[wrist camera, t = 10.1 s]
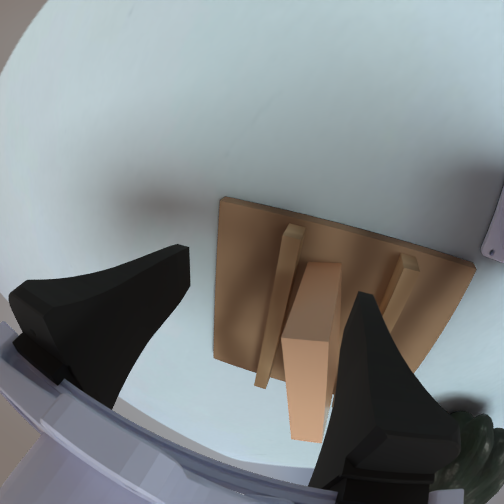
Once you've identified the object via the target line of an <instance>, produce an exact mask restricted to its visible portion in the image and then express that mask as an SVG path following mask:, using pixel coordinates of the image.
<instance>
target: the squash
mask: <svg viewBox="0 0 504 504" xmlns="http://www.w3.org/2000/svg"><path fill="white" fill-rule="evenodd" d="M450 416H452V417H453V418H454V419H455V420H456V421H457V422H458V423H459V428H460V438H461V452H460V453H459V455H458V456H457V457H456V458H455V459H454V460H453V461H452V462H451V463H449V464H448V465H446V466H445V467H443V468H442V469H440V470H439V471H437V472H435V481H434V483H433V484H430V487H429V492H432V491H436V490H451V489H463V490H464V502H463V504H485V503H487V502H488V501H489V500H490V499H491V498H492V497H493V496H494V495H495V494H496V493H497V492H498V491H499V490H500V488H501V487H502V486H503V484H504V429H503V428H494V429H493V422H492V419H491V418H490V417H489V416H488V415H486V414H482V415H479V416H477V417H475V418H474V417H473V416H472V415H471V414H470V413H468V412H465V411H458V412H454V413H452V414H450Z"/></svg>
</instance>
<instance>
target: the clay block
mask: <svg viewBox="0 0 504 504" xmlns="http://www.w3.org/2000/svg"><path fill="white" fill-rule="evenodd" d="M341 282H342V263H326V262H308V263H307V266H306V269H305V272H304V275H303V278H302V281H301V284H300V286H299V289H298V292H297V295H296V298H295V301H294V304H293V306H292V309H291V312H290V315H289V317H288V320H287V323H286V326H285V328H284V331H283V334H282V336H281V342H282V351H283V360H284V370H285V379H286V389H287V399H288V409H289V420H290V430H291V439H294V440H301V441H308V442H316V443H322V439H323V435H324V431H325V427H326V422H327V418H328V413H329V408H330V404H331V399H332V394H333V389H334V383H335V378H336V372H337V361H338V348H339V332H340V313H341Z"/></svg>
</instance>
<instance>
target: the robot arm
mask: <svg viewBox="0 0 504 504" xmlns="http://www.w3.org/2000/svg"><path fill="white" fill-rule="evenodd" d="M492 249H493V252H492V253H490V251H491V250H492ZM481 253H482V254H483V255H484V256H485V257H488V258H491V259H494V260H496V261H499V262H502V263H504V186H503V190H502V193H501V196H500V199H499V202H498V205H497V208H496V211H495V214H494V216H493V219H492V222H491V224H490V227H489V229H488V232H487V235H486V237H485V239H484V242H483V244H482V247H481ZM189 287H190V257H189V247H187V246H183V245H179V244H175V245H172V246H169V247H166V248H164V249H161V250H158V251H156V252H153V253H151V254H148V255H146V256H143V257H141V258H138V259H136V260H133V261H130V262H127V263H124V264H122V265H119V266H116V267H113V268H110V269H106V270H102V271H99V272H95V273H90V274H85V275H80V276H75V277H68V278H60V279H46V280H26V281H25V282H23V283H22V284H21V285H19V286H18V287H17V288H16V289H14V290H13V291H12V292H11V293H10V294H9V303H10V306H11V309H12V311H13V313H14V315H15V318H16V320H17V322H18V324H19V326H20V328H21V330H22V332H23V333H22V334H20V335H19V336H18V334H17V333H16V332H15V331H14V330H13V329H12V328H11V327H10V326H9V325H8V324H7V323H6V322H5V321H2V322H1V323H0V393H1V394H2V395H3V396H4V398H5V399H6V400H7V401H8V402H9V403H10V404H11V405H12V406H13V407H14V408H15V410H16V411H17V412H18V413H19V414H20V415H21V416H22V417H23V418H24V419H25V420H26V421H27V422H28V423H29V424H30V425H31V426H32V427H33V428H35V429H36V430H37V431H38V432H39V433H40V434H41V436H40V437H39V438H38V440H37V441H36V442H35V443H34V445H33V446H32V447H31V449H30V450H29V451H28V452H27V453H26V455H25V456H24V457H23V459H22V460H21V461H20V463H19V464H18V465H17V466H16V468H15V469H14V470H13V472H12V473H11V474H10V475H9V477H8V478H7V480H6V481H5V482H4V484H3V485H2V486H1V488H0V504H463V502H464V490H463V489H451V490H436V491H432V492H429V487H430V484H433V483H434V481H435V472H437V471H439V470H440V469H442V468H443V467H445V466H446V465H448V464H449V463H451V462H452V461H453V460H454V459H455V458H456V457H457V456H458V455H459V453H460V452H461V438H460V428H459V423H458V422H457V421H456V420H455V419H454V418H453V417H452V416H450V415H449V414H448V413H447V412H446V411H445V410H444V409H443V408H442V407H441V406H440V405H439V404H438V403H437V402H436V401H435V400H434V398H433V397H432V396H431V395H430V394H429V393H428V392H427V390H426V389H425V388H424V387H423V385H422V384H421V383H420V381H419V380H418V379H417V378H416V376H415V375H414V373H413V372H412V371H411V369H410V368H409V366H408V365H407V363H406V361H405V360H404V358H403V357H402V355H401V353H400V352H399V350H398V348H397V346H396V344H395V342H394V340H393V338H392V336H391V334H390V332H389V330H388V328H387V326H386V324H385V321H384V319H383V317H382V314H381V312H380V310H379V307H378V305H377V302H376V300H375V298H374V296H373V294H369V293H365V292H361V291H358V293H357V296H356V299H355V302H354V304H353V307H352V310H351V312H350V315H349V317H348V320H347V323H346V325H345V328H344V332H343V337H342V342H341V347H340V354H339V364H338V374H337V384H336V392H335V399H334V405H333V409H332V413H331V417H330V421H329V425H328V428H327V432H326V435H325V439H324V442H323V445H322V448H321V451H320V454H319V457H318V460H317V463H316V466H315V469H314V472H313V475H312V477H311V480H310V482H309V485H308V486H303V485H298V484H293V483H289V482H285V481H281V480H277V479H273V478H269V477H266V476H262V475H259V474H256V473H252V472H249V471H246V470H243V469H240V468H237V467H234V466H231V465H228V464H225V463H222V462H220V461H217V460H214V459H211V458H209V457H206V456H204V455H201V454H199V453H196V452H194V451H192V450H189V449H187V448H185V447H182V446H180V445H178V444H175V443H173V442H171V441H169V440H167V439H165V438H163V437H161V436H159V435H157V434H155V433H153V432H151V431H149V430H147V429H145V428H143V427H141V426H139V425H137V424H135V423H134V422H132V421H130V420H128V419H126V418H124V417H123V416H121V415H119V414H118V413H116V412H114V411H113V410H112V408H113V406H114V404H115V402H116V399H117V397H118V395H119V393H120V391H121V389H122V387H123V385H124V383H125V381H126V379H127V377H128V375H129V373H130V371H131V369H132V368H133V366H134V364H135V362H136V361H137V359H138V357H139V356H140V354H141V352H142V351H143V349H144V348H145V346H146V345H147V343H148V342H149V340H150V339H151V338H152V336H153V335H154V334H155V333H156V331H157V330H158V329H159V328H160V327H161V325H162V324H163V323H164V322H165V320H166V319H167V318H168V317H169V316H170V314H171V313H172V312H173V311H174V310H175V308H176V307H177V306H178V305H179V303H180V302H181V300H182V299H183V297H184V295H185V294H186V292H187V290H188V289H189ZM232 490H233V491H232ZM235 491H236V492H235ZM237 492H239V493H237ZM240 493H242V494H245V495H242V494H240Z"/></svg>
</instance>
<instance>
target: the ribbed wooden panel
mask: <svg viewBox="0 0 504 504" xmlns="http://www.w3.org/2000/svg"><path fill="white" fill-rule="evenodd" d="M308 262H326V263H342V282H341V313H340V332H339V348H338V361H337V372H336V378H335V383H334V389H333V394H334V398H333V403H332V407H333V405H334V399H335V392H336V384H337V374H338V364H339V354H340V347H341V342H342V337H343V332H344V328H345V325H346V323H347V320H348V317H349V315H350V312H351V310H352V307H353V304H354V302H355V299H356V296H357V293H358V291H361V292H365V293H369V294H373V296H374V298H375V300H376V302H377V305H378V307H379V310H380V312H381V314H382V317H383V319H384V321H385V324H386V326H387V328H388V330H389V332H390V334H391V336H392V338H393V340H394V342H395V344H396V346H397V348H398V350H399V352H400V353H401V355H402V357H403V358H404V360H405V361H406V363H407V365H408V366H409V368H410V369H411V371H412V372H413V373H414V372H415V371H416V370H417V368H418V367H419V365H420V364H421V363H422V361H423V360H424V358H425V357H426V355H427V354H428V353H429V351H430V350H431V348H432V347H433V345H434V344H435V342H436V341H437V339H438V338H439V336H440V334H441V333H442V331H443V330H444V328H445V326H446V325H447V323H448V321H449V320H450V318H451V316H452V315H453V313H454V311H455V310H456V308H457V306H458V304H459V302H460V301H461V299H462V297H463V295H464V293H465V291H466V289H467V288H468V286H469V284H470V282H471V280H472V278H473V276H474V274H475V272H476V270H477V269H476V267H475V265H474V264H473V262H470V261H467V260H464V259H461V258H457V257H454V256H451V255H448V254H445V253H442V252H438V251H435V250H432V249H429V248H425V247H422V246H419V245H416V244H412V243H409V242H405V241H402V240H398V239H395V238H392V237H388V236H384V235H381V234H377V233H374V232H370V231H366V230H363V229H359V228H355V227H352V226H348V225H344V224H340V223H336V222H333V221H329V220H325V219H321V218H317V217H313V216H309V215H305V214H301V213H296V212H292V211H288V210H284V209H280V208H275V207H271V206H267V205H262V204H258V203H253V202H249V201H244V200H240V199H235V198H230V197H226V196H225V197H224V198H223V199H221V200H220V207H219V223H218V242H217V263H216V286H215V316H214V358H215V359H217V360H220V361H223V362H226V363H229V364H231V365H234V366H237V367H240V368H243V369H246V370H249V371H252V372H255V373H257V374H256V379H255V384H254V386H257V387H260V388H263V389H266V386H267V384H268V381H269V379H270V377H271V378H275V379H278V380H281V381H285V382H286V379H285V370H284V360H283V351H282V342H281V336H282V334H283V331H284V328H285V326H286V323H287V320H288V317H289V315H290V312H291V309H292V306H293V304H294V301H295V298H296V295H297V292H298V289H299V286H300V284H301V281H302V278H303V275H304V272H305V269H306V266H307V263H308Z"/></svg>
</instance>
